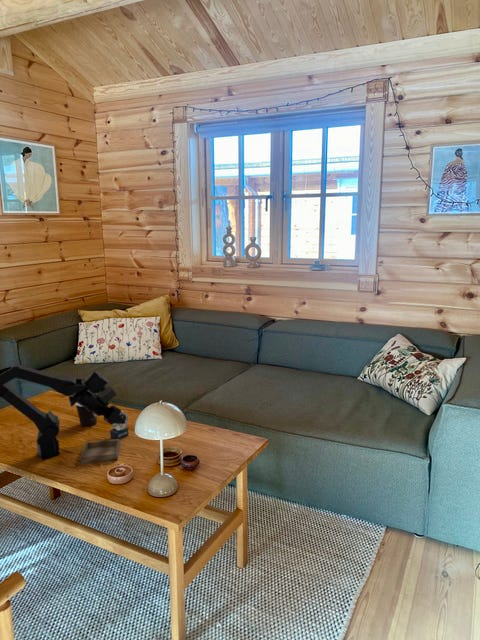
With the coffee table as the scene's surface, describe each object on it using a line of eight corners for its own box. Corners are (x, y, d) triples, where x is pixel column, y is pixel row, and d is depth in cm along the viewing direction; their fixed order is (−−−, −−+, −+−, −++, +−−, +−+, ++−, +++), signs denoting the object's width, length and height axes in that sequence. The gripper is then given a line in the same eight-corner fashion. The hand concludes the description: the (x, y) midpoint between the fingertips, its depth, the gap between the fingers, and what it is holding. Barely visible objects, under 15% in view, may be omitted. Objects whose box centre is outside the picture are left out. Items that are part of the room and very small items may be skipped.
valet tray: (81, 463, 166) (80, 457, 165) (86, 448, 177) (85, 442, 176) (117, 460, 168) (116, 453, 167) (120, 445, 179) (120, 438, 178)
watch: (120, 442, 181) (117, 415, 179) (107, 436, 186) (105, 410, 184) (131, 436, 185) (129, 410, 183) (119, 431, 191) (117, 406, 188)
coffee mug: (86, 430, 192) (83, 407, 190) (73, 425, 197) (71, 403, 195) (109, 420, 201) (107, 398, 199) (97, 416, 206) (95, 394, 204)
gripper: (114, 388, 170) (142, 407, 180) (90, 376, 184) (118, 395, 194) (96, 415, 167) (126, 433, 177) (73, 401, 180) (102, 419, 190)
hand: (118, 419), depth 184 cm, fingers open, 9 cm apart
